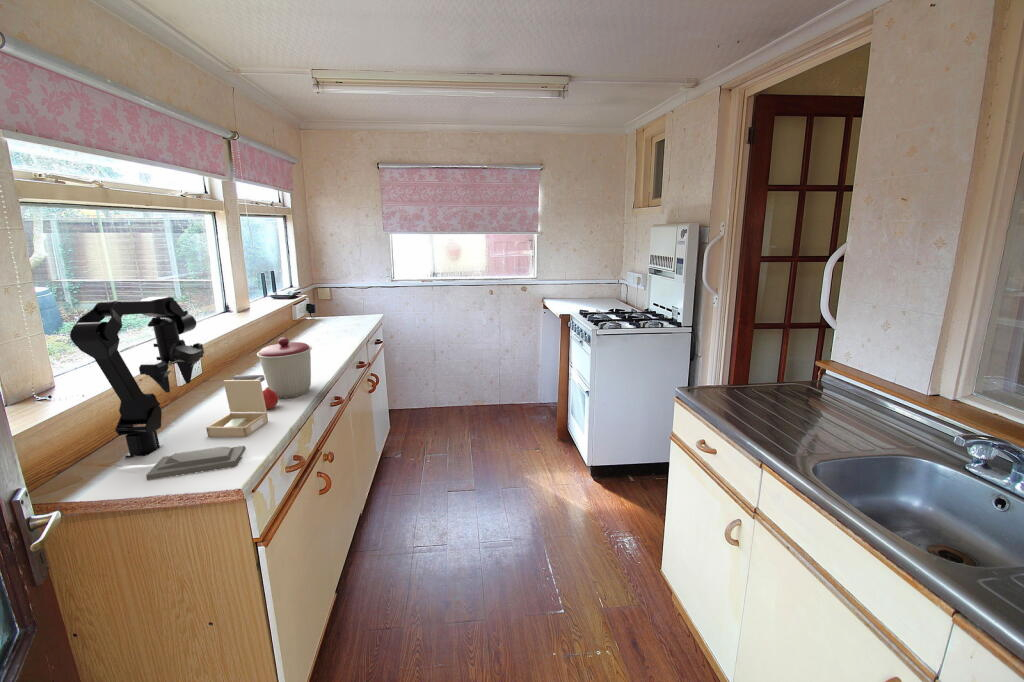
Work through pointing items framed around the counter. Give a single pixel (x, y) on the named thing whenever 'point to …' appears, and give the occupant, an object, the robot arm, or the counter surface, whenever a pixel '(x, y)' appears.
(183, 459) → the soap mold
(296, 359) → the canister
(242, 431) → the carton
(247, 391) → the flap
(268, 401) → the onion
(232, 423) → the soap bar
